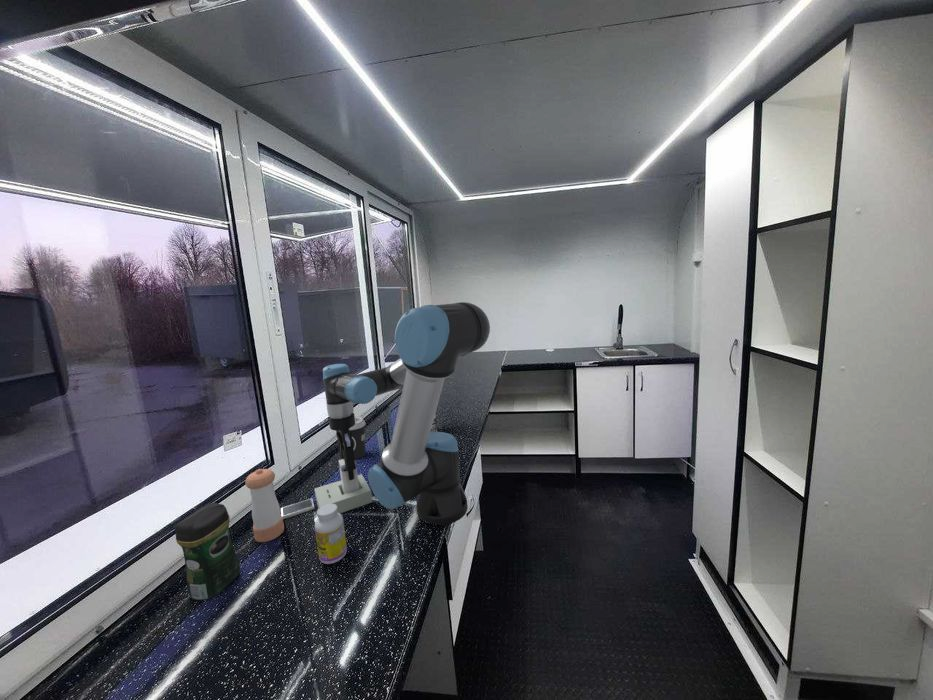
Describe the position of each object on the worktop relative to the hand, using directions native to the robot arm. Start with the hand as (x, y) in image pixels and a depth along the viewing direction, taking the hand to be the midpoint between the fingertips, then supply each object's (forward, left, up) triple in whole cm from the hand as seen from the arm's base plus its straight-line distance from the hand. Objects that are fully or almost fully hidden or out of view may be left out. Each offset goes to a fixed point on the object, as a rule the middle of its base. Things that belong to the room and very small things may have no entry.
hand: (350, 483), depth 112 cm
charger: (0, 0, -2) cm, 2 cm away
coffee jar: (-17, +35, -5) cm, 39 cm away
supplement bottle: (-23, +10, -5) cm, 25 cm away
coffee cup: (+30, -8, -5) cm, 32 cm away
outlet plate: (0, +2, -5) cm, 6 cm away
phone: (+4, +16, -5) cm, 17 cm away
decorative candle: (+33, -41, -5) cm, 53 cm away
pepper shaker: (-4, +23, -5) cm, 24 cm away
